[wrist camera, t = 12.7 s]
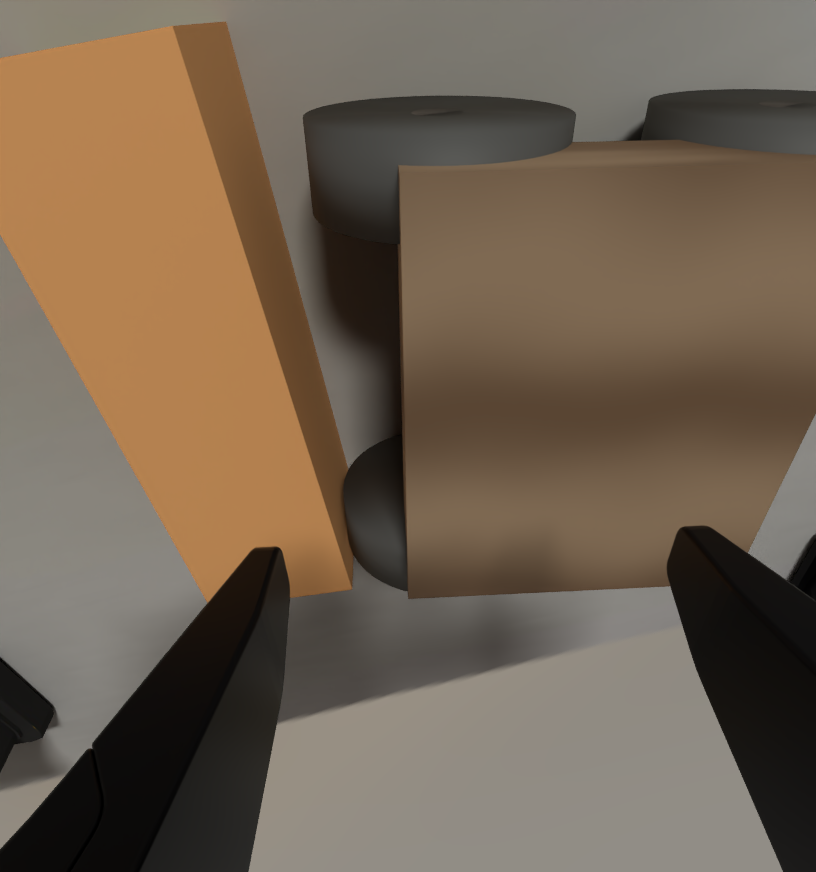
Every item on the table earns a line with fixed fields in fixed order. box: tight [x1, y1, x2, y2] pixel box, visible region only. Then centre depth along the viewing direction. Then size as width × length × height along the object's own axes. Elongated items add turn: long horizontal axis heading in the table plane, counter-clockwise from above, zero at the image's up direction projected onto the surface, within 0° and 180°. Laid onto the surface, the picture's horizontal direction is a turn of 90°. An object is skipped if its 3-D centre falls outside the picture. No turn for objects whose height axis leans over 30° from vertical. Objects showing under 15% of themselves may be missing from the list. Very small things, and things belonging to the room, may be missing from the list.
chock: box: [0, 22, 353, 603], centre depth 17 cm, size 5×16×5 cm, turn 8°
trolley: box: [303, 89, 816, 599], centre depth 17 cm, size 13×14×6 cm
